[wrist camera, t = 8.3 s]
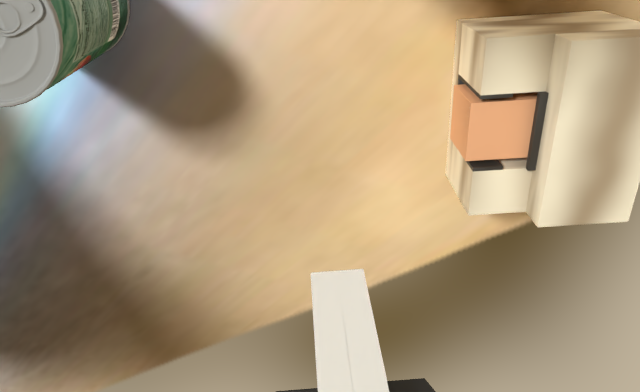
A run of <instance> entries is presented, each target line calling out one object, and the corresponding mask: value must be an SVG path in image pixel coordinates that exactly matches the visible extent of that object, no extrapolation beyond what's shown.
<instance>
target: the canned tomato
mask: <svg viewBox="0 0 640 392" xmlns="http://www.w3.org/2000/svg"><path fill="white" fill-rule="evenodd" d="M129 15H130V1H129V0H0V107H11V106H16V105H20V104H23V103H27V102H29V101H31V100H33V99H34V98H36V97H38V96H40V95H41V94H42V93H43V92H44V91H45V90H47V89H49V88H50V87H52V86H54V85H55V84H56V83H58V82H60V81H61V80H63V79H64V78H66V77H67V76H69V75H71V74H72V73H73V72H75V71H77V70H78V69H80V68H82V67H83V66H84V65H86V64H88V63H89V62H91V61H92V60H94V59H95V58H97V57H98V56H100V55H102V54H103V53H105V52H107V51H109V50H110V49H112V48H113V47H114V46H115V45H116V44H117V43H118V42H119V40H120V39H121V38H122V36H123V35H124V33H125V30H126V28H127V25H128V22H129Z"/></svg>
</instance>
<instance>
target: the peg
mask: <svg viewBox="0 0 640 392" xmlns="http://www.w3.org/2000/svg"><path fill="white" fill-rule="evenodd" d="M537 94H538V92H527V93H513V97H510V98H495V99H479V98H478V97H477V96H476V95H475V94H474V93H473V92H472V91H471V90H470V89H469V88H468V87H467V86H466V85H465V84H461V85H454V93H453V107H452V120H451V133H450V139H451V140H452V142H453V143H454V145H455V146H456V148H457V149H458V151H459V152H460V154H461V155H462V157H463V158H464V160H465V161H477V160H493V159H509V158H525V157H527V156H528V150H529V143H530V137H531V131H532V125H533V118H534V112H535V106H536V100H537Z"/></svg>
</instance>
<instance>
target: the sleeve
mask: <svg viewBox="0 0 640 392" xmlns="http://www.w3.org/2000/svg"><path fill="white" fill-rule="evenodd" d="M461 84H465V85H466V86H467V87H468V88H469V89H470V90H471V91H472V92H473V93H474V94H475V95H476V96H477V97H478V98H479V99H495V98H510V97H513V93H527V92H538V94H537V100H536V106H535V112H534V118H533V125H532V131H531V137H530V143H529V150H528V156H527V157H525V158H509V159H493V160H477V161H465V160H464V158H463V157H462V155H461V154H460V152H459V151H458V149H457V148H456V146H455V145H454V143H453V142H452V140H451V139H450V133H451V120H452V107H453V93H454V85H461ZM445 175H446V176H447V178H448V180H449V182H450V184H451V185H452V187H453V189H454V191H455V193H456V194H457V196H458V198H459V200H460V202H461V203H462V205H463V207H464V209H465V210H466V212H467V214H468V215H482V214H498V213H514V212H526V213H527V214H528V216H529V217H530V218H531V219H532V221H533V222H534V223H535V225H536V226H537V227H549V226H565V225H581V224H598V223H614V222H628V220H629V217H630V214H631V210H632V206H633V203H634V200H635V197H636V193H637V190H638V186H639V183H640V22H639V21H636V20H632V19H629V18H626V17H622V16H619V15H615V14H612V13H609V12H605V11H602V10H599V11H584V12H568V13H552V14H537V15H521V16H505V17H490V18H474V19H459V20H457V24H456V38H455V51H454V65H453V79H452V92H451V106H450V119H449V133H448V146H447V160H446V173H445Z"/></svg>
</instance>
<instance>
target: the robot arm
mask: <svg viewBox="0 0 640 392" xmlns="http://www.w3.org/2000/svg"><path fill="white" fill-rule="evenodd" d="M311 287H312V304H313V320H314V335H315V351H316V352H315V353H316V368H317V369H316V370H317V386H318V388H314V389H301V390H288V391H277V392H435V391H434V389H433V388H432V387H431V386H430V385H429V383H428V382H427V381H426V380H425V379H424V378H423V379H410V380H399V381H387V378H386V374H385V369H384V365H383V360H382V356H381V350H380V346H379V341H378V336H377V331H376V327H375V322H374V317H373V313H372V308H371V304H370V298H369V294H368V289H367V284H366V280H365V275H364V270H363V269H354V270H341V271H328V272H314V273H311Z"/></svg>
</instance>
